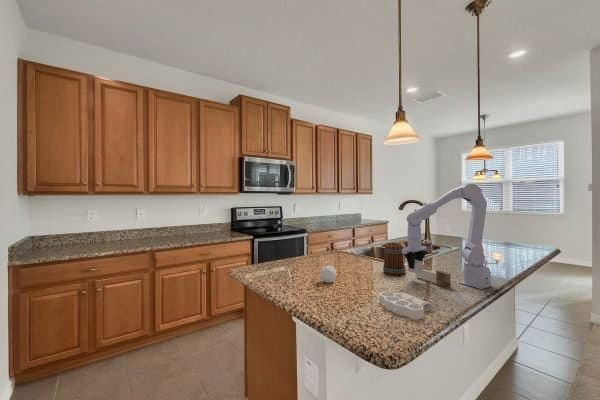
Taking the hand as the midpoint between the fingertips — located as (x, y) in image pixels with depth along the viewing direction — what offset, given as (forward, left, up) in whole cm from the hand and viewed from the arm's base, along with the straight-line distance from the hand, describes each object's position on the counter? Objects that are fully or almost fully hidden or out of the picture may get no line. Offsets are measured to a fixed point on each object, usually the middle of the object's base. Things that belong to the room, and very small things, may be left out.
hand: (415, 267), depth 124 cm
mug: (+16, -5, -6) cm, 18 cm away
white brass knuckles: (-18, +28, -7) cm, 34 cm away
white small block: (0, 0, -2) cm, 2 cm away
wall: (-11, -4, -6) cm, 13 cm away
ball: (+20, +34, -6) cm, 40 cm away
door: (-2, -6, -6) cm, 9 cm away
